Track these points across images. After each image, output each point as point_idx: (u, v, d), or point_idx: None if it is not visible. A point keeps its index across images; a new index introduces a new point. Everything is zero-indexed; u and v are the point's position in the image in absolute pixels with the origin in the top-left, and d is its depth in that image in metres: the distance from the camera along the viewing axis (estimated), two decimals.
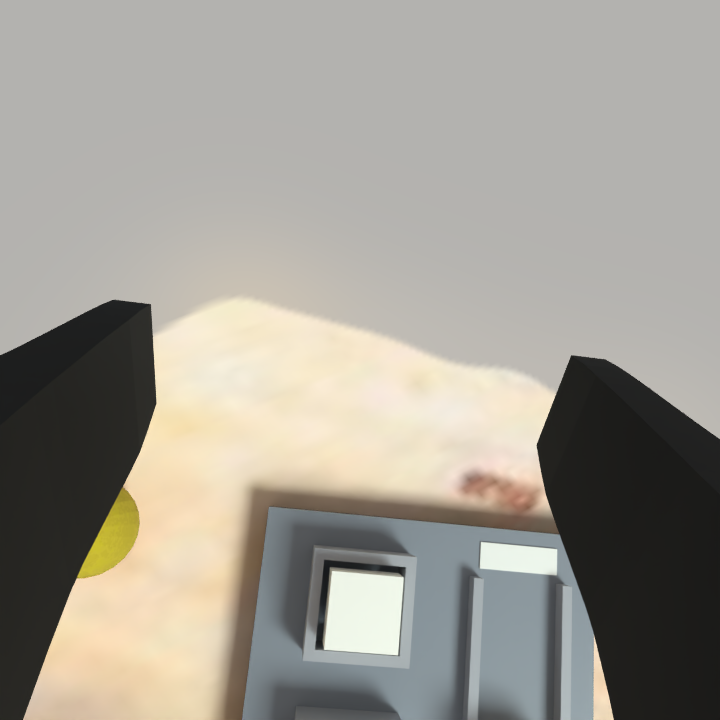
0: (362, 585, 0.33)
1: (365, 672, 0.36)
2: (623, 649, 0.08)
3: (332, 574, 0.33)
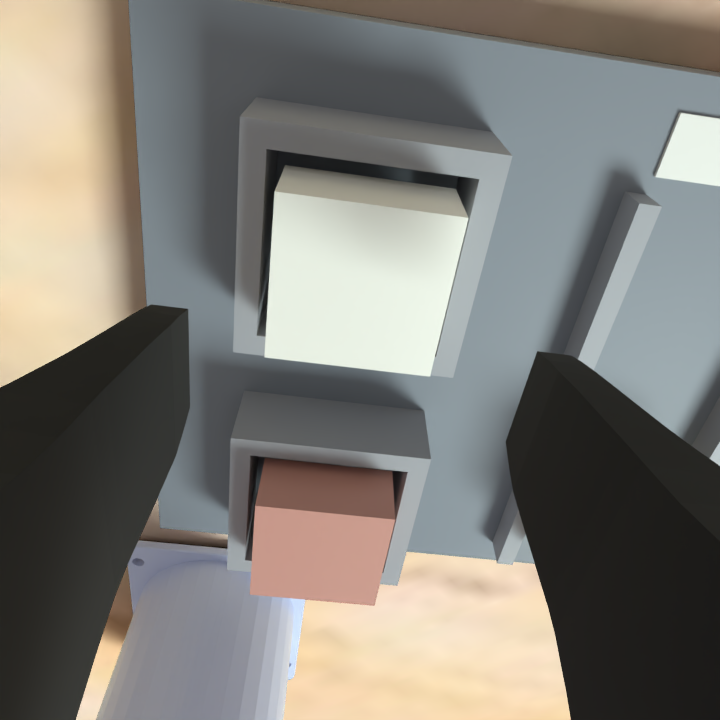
0: (357, 231, 0.13)
1: None
2: (579, 645, 0.08)
3: (276, 200, 0.12)
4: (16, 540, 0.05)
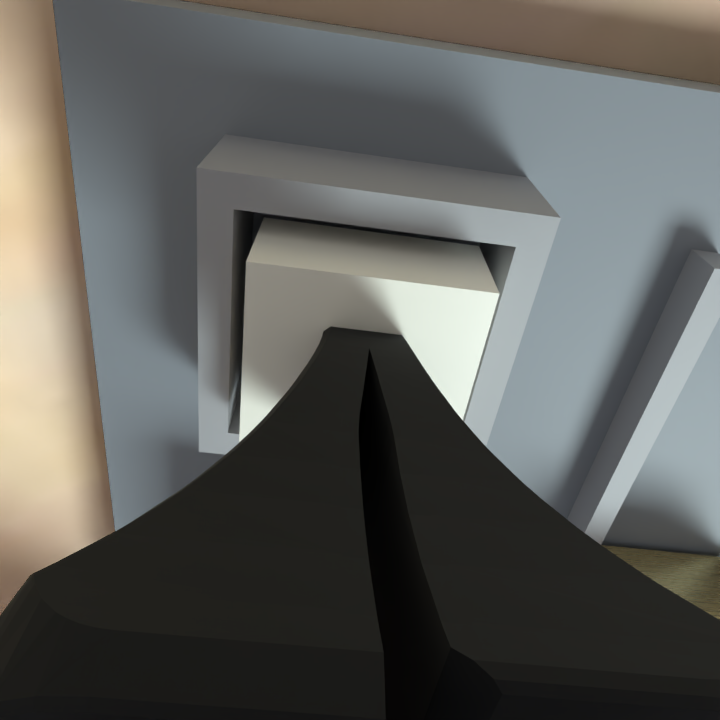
0: (355, 310, 0.10)
1: None
2: None
3: (248, 272, 0.09)
4: None
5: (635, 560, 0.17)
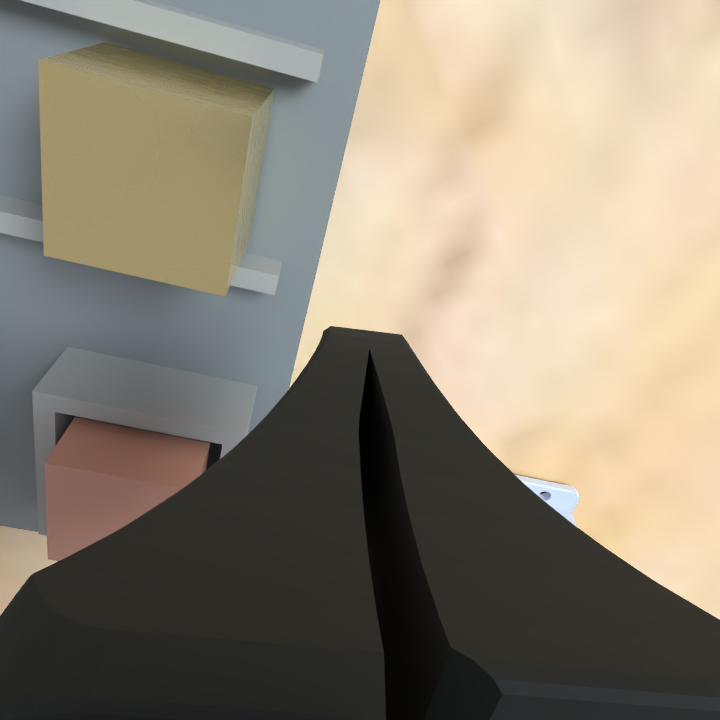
0: None
1: (3, 386, 0.20)
2: None
3: None
4: None
5: None
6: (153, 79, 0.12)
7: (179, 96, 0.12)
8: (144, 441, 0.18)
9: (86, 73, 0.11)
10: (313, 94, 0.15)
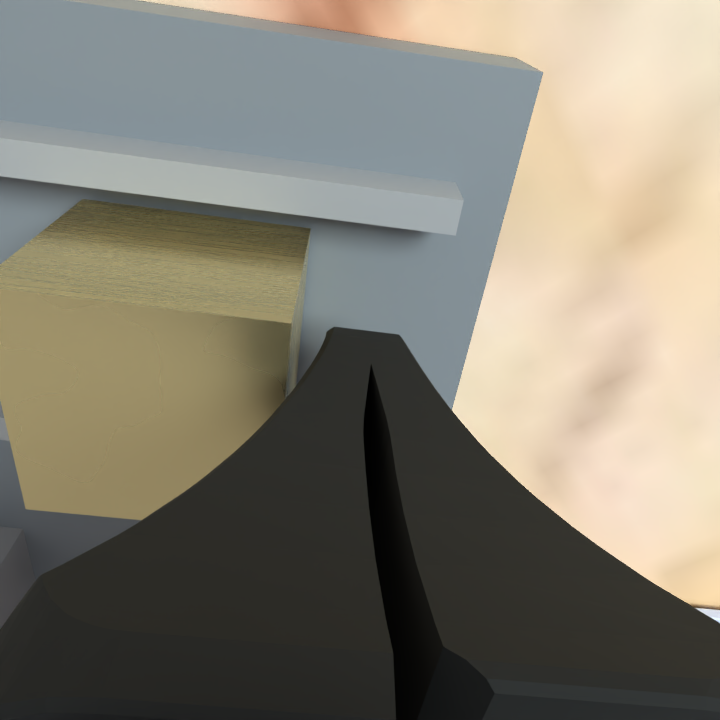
0: None
1: None
2: None
3: None
4: None
5: None
6: (144, 273, 0.08)
7: (182, 308, 0.08)
8: None
9: (44, 295, 0.08)
10: (439, 237, 0.11)
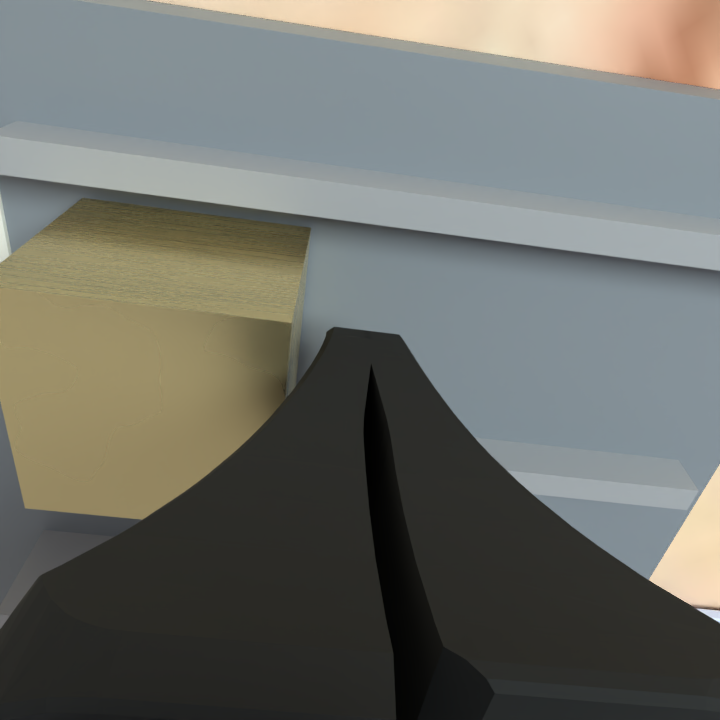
0: None
1: None
2: None
3: None
4: None
5: None
6: (144, 272, 0.08)
7: (183, 307, 0.08)
8: None
9: (44, 294, 0.08)
10: None
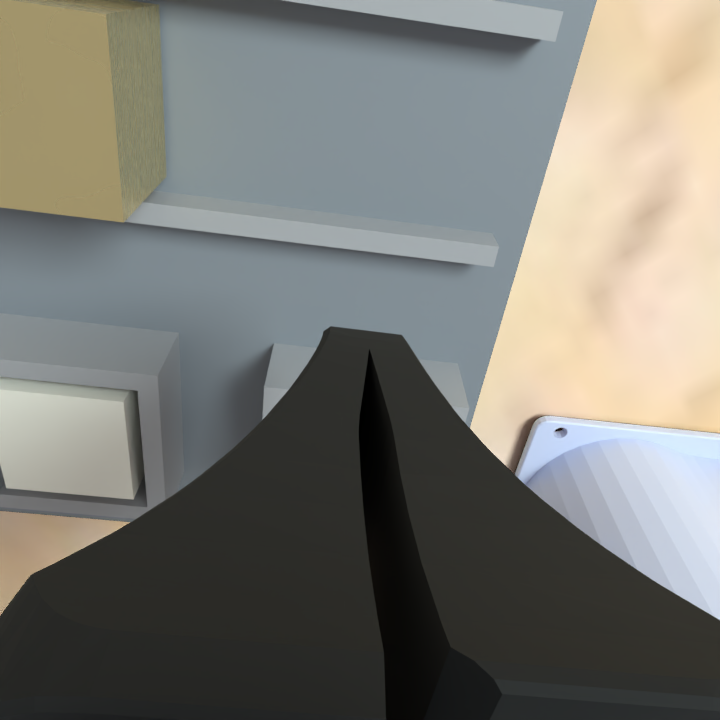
0: (15, 448, 0.18)
1: (209, 389, 0.20)
2: None
3: (12, 487, 0.19)
4: None
5: None
6: None
7: (27, 2, 0.11)
8: None
9: None
10: (536, 57, 0.15)
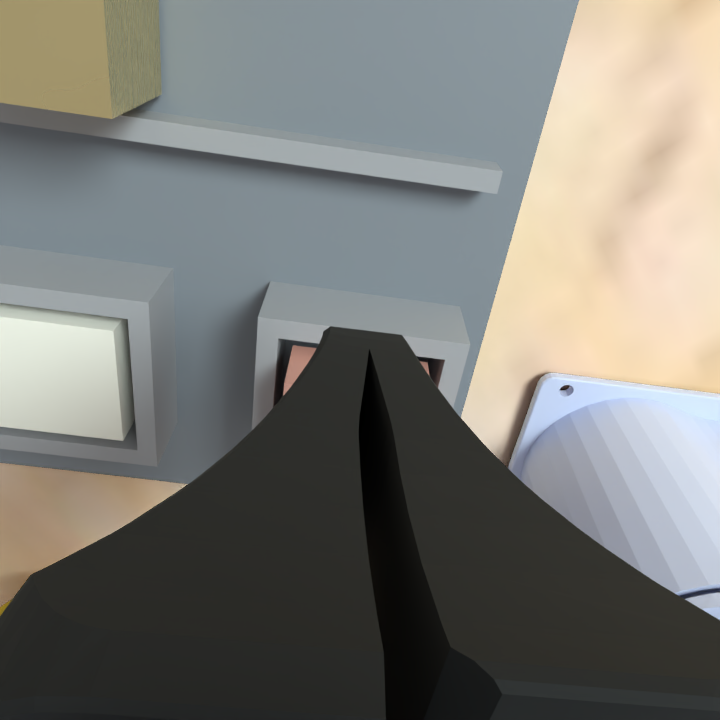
0: (3, 381, 0.18)
1: (204, 331, 0.20)
2: None
3: None
4: None
5: None
6: None
7: None
8: None
9: None
10: None
